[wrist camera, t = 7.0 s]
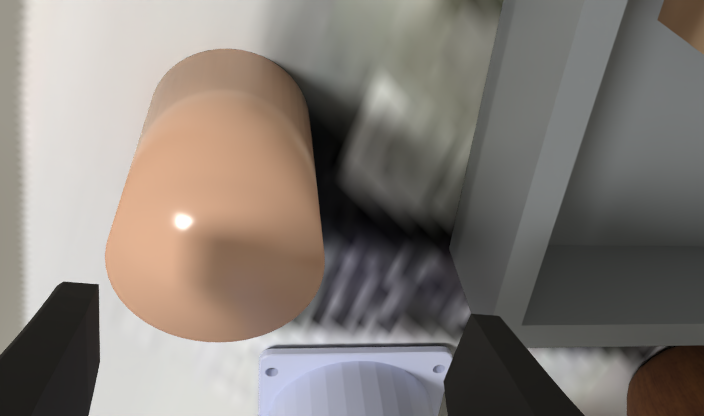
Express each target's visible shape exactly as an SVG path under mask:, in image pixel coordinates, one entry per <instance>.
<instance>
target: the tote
mask: <svg viewBox="0 0 704 416" xmlns="http://www.w3.org/2000/svg"><path fill="white" fill-rule="evenodd" d="M663 2H664V0H504V1H503V6H502V10H501V15H500V19H499V24H498V29H497V33H496V38H495V42H494V47H493V51H492V56H491V60H490V65H489V69H488V74H487V78H486V83H485V87H484V92H483V97H482V101H481V106H480V110H479V115H478V119H477V124H476V128H475V133H474V137H473V142H472V146H471V151H470V156H469V160H468V165H467V169H466V174H465V178H464V183H463V187H462V192H461V196H460V201H459V205H458V210H457V214H456V219H455V224H454V228H453V233H452V237H451V242H450V246H449V251H450V253H451V256H452V259H453V262H454V265H455V268H456V271H457V274H458V276H459V279H460V282H461V285H462V288H463V291H464V294H465V297H466V299H467V302H468V305H469V308H470V311H471V314H483V315H495V316H500V317H501V318H502V320H503V321H504V322H505V323H506V324H507V325H508V327H509V328H510V329H511V330H512V331H513V333H514V334H515V335H516V336H517V337H518V339H519V340H520V341H521V342H522V343H523V345H524V346H525V347H526V348H555V347H623V346H691V345H704V54H702V53H701V52H700V51H698V50H697V49H695V48H694V47H693V46H691V45H690V44H689V43H687V42H686V41H685V40H683V39H682V38H681V37H679V36H678V35H677V34H675V33H674V32H673V31H671V30H670V29H669V28H667V27H666V26H665V25H663V24H662V23H661V22H659V21H658V20H657V19H658V16H659V13H660V10H661V8H662V5H663Z"/></svg>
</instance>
